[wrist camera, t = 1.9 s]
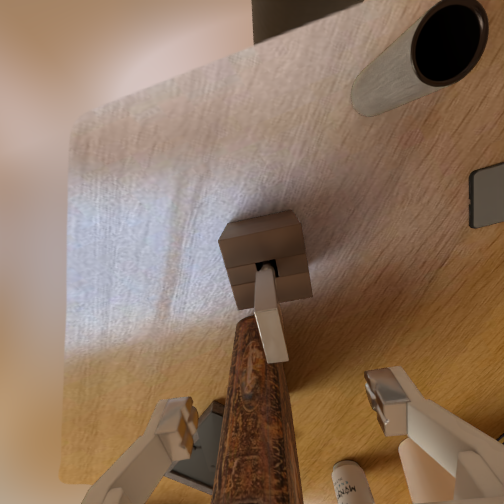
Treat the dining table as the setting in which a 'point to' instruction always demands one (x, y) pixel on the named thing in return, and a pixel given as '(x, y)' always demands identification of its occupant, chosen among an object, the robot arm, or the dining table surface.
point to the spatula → (269, 314)
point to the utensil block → (266, 256)
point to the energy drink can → (351, 484)
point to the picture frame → (201, 452)
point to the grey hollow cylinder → (424, 57)
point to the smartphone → (486, 196)
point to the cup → (425, 475)
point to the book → (256, 429)
